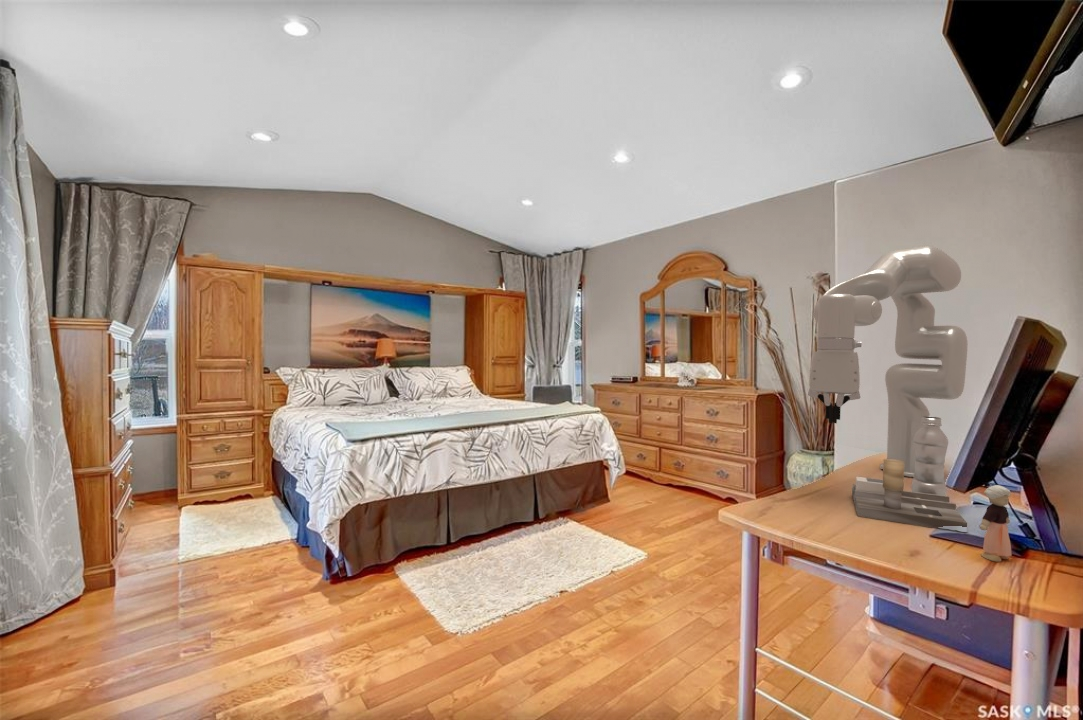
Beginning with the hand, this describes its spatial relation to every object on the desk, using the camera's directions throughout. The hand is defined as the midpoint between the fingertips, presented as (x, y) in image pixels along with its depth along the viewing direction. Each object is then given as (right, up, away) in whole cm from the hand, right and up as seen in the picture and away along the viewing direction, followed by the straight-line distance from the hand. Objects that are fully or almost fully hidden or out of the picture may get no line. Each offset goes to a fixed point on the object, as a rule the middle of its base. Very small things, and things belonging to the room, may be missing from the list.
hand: (832, 422), depth 114 cm
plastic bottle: (+22, -19, -1) cm, 29 cm away
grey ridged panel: (+10, -19, -9) cm, 23 cm away
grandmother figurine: (+10, -20, -30) cm, 38 cm away
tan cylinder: (+6, -17, -11) cm, 21 cm away
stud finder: (+7, -17, -3) cm, 18 cm away
